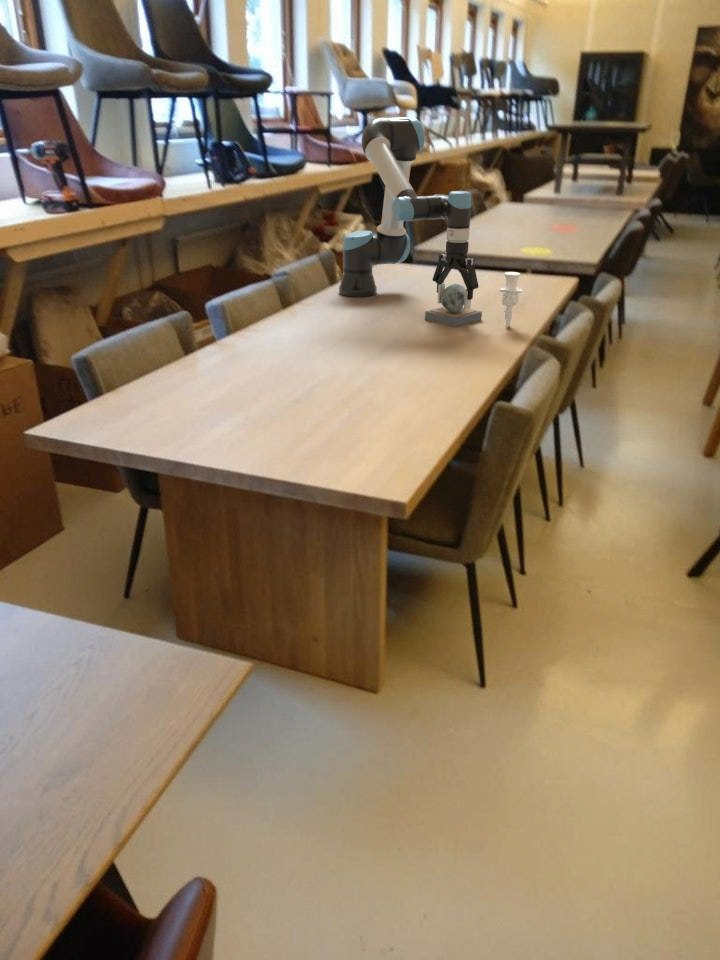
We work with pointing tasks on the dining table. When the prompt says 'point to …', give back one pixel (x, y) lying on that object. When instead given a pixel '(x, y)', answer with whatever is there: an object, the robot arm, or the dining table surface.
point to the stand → (453, 316)
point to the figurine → (510, 294)
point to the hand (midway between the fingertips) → (453, 305)
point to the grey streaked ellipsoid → (453, 297)
